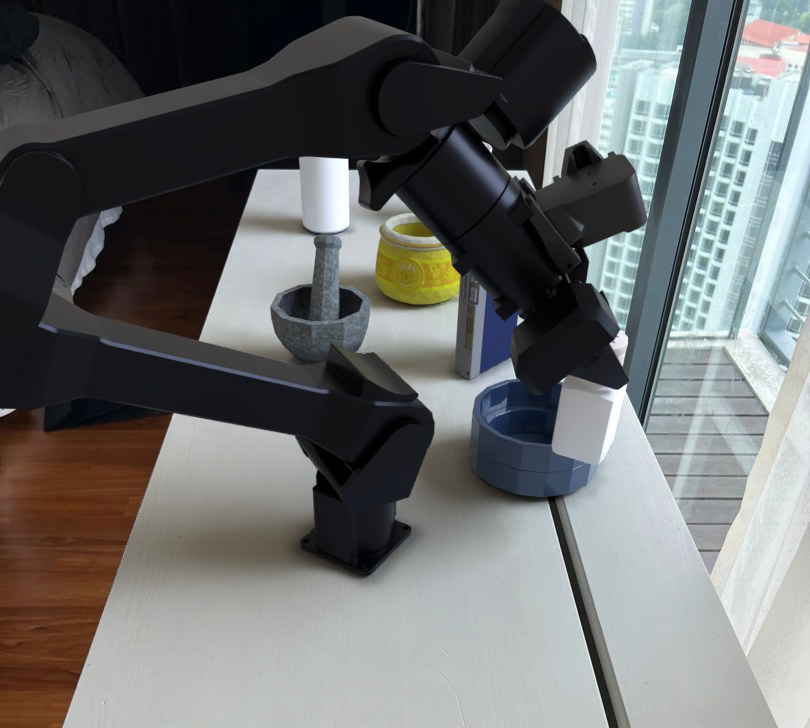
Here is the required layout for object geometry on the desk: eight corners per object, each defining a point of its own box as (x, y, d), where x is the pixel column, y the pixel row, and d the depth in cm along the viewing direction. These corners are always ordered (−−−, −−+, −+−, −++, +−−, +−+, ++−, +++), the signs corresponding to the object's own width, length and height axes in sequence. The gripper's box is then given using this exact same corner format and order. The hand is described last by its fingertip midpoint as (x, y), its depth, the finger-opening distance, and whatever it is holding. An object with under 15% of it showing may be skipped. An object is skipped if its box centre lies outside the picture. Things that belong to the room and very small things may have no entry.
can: (296, 221, 118) (290, 129, 111) (339, 216, 121) (336, 125, 113) (312, 237, 114) (307, 142, 106) (356, 231, 116) (355, 137, 108)
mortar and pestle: (361, 393, 83) (360, 274, 75) (268, 386, 83) (256, 268, 76) (376, 341, 91) (376, 230, 84) (291, 335, 92) (283, 224, 84)
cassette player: (497, 348, 90) (508, 237, 83) (514, 356, 89) (527, 243, 81) (452, 372, 86) (459, 257, 78) (470, 380, 85) (478, 264, 77)
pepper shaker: (564, 426, 66) (585, 316, 59) (614, 440, 64) (641, 330, 58) (547, 454, 63) (567, 343, 56) (599, 470, 62) (625, 358, 55)
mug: (361, 303, 99) (360, 198, 91) (392, 269, 107) (393, 169, 99) (466, 320, 96) (474, 213, 88) (490, 283, 104) (499, 182, 96)
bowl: (564, 518, 68) (574, 462, 64) (446, 475, 72) (449, 420, 69) (613, 454, 75) (625, 400, 72) (503, 418, 80) (509, 366, 76)
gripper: (611, 156, 41) (766, 363, 49) (556, 74, 56) (682, 243, 63) (443, 305, 46) (607, 472, 53) (431, 194, 60) (562, 338, 68)
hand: (617, 371), depth 59 cm, fingers closed on pepper shaker, 3 cm apart
